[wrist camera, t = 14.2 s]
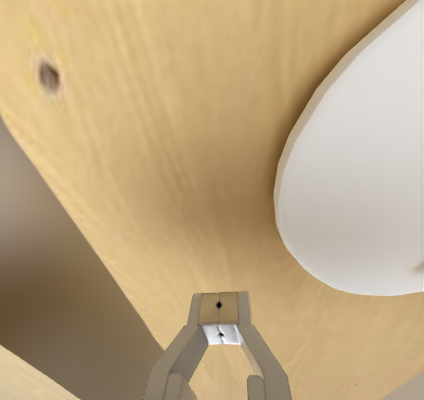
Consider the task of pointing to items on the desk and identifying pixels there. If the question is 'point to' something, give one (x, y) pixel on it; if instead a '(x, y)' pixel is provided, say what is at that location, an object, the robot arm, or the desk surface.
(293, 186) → the plate
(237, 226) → the desk surface
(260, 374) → the robot arm
